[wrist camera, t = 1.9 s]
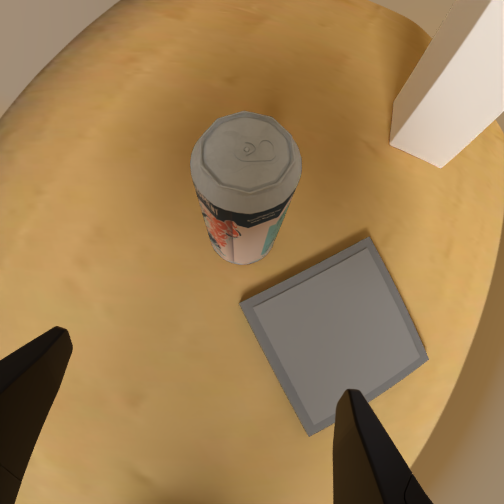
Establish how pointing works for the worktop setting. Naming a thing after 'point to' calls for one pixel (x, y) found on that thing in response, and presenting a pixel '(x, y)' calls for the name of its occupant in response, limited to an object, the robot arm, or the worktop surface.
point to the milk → (453, 84)
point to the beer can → (245, 183)
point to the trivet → (335, 333)
